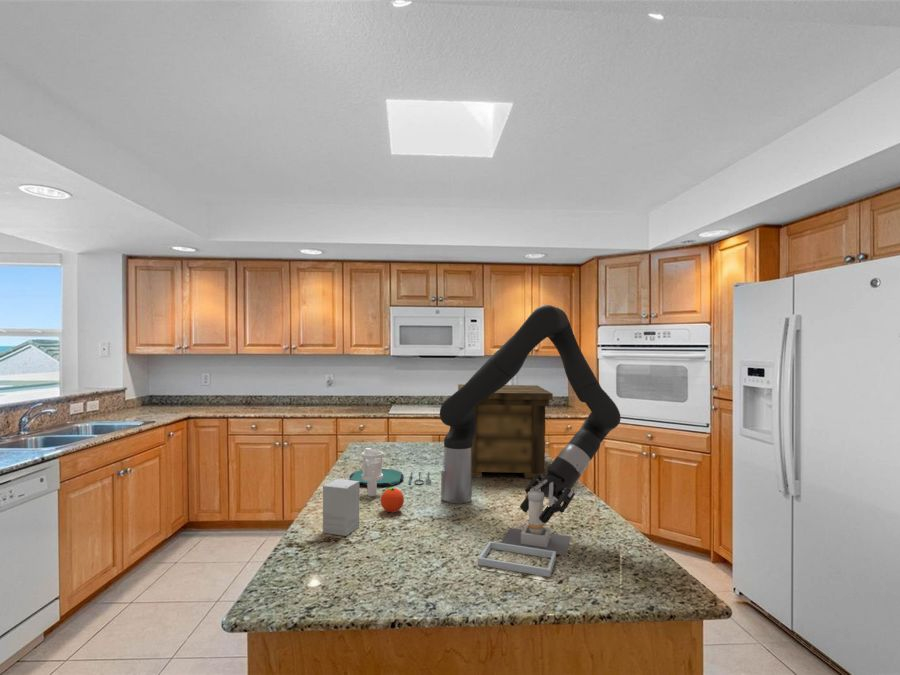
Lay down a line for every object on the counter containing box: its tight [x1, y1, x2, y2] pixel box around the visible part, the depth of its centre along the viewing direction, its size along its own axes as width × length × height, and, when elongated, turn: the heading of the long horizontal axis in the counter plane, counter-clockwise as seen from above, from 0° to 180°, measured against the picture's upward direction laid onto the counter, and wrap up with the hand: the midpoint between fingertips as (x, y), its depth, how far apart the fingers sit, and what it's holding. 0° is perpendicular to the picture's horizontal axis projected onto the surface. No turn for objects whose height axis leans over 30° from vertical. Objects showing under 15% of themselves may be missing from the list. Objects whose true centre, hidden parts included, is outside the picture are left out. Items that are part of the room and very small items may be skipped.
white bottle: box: [528, 490, 545, 535], centre depth 122 cm, size 4×4×12 cm
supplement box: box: [322, 478, 360, 537], centre depth 131 cm, size 7×7×13 cm
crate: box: [457, 383, 554, 479], centre depth 197 cm, size 35×35×33 cm
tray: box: [477, 541, 557, 583], centre depth 111 cm, size 16×10×3 cm, turn 70°
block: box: [500, 524, 572, 556], centre depth 122 cm, size 16×12×4 cm
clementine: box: [380, 487, 405, 513], centre depth 146 cm, size 8×7×7 cm
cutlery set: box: [349, 468, 432, 486], centre depth 179 cm, size 20×30×2 cm, turn 92°
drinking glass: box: [361, 447, 384, 497], centre depth 162 cm, size 7×7×15 cm
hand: (531, 515), depth 122 cm, fingers open, 8 cm apart
